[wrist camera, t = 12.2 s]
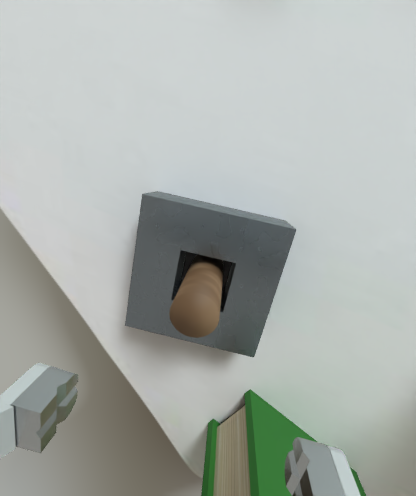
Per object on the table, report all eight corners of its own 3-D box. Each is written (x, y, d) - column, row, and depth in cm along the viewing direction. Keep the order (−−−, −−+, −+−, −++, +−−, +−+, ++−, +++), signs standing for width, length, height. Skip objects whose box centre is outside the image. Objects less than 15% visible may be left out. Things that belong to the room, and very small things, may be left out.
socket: (285, 220, 22) (296, 229, 18) (250, 330, 25) (253, 357, 22) (157, 191, 22) (142, 194, 18) (140, 303, 26) (125, 325, 22)
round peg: (227, 255, 23) (224, 299, 15) (219, 284, 24) (213, 342, 16) (195, 247, 23) (173, 287, 15) (188, 276, 24) (165, 330, 16)
